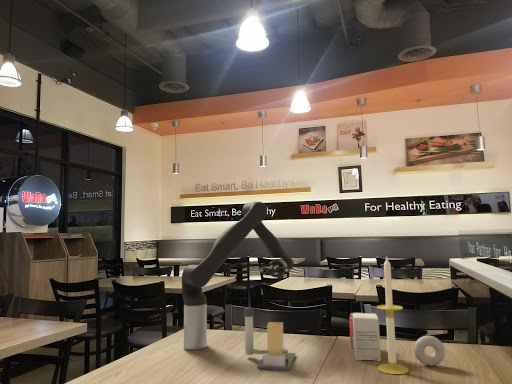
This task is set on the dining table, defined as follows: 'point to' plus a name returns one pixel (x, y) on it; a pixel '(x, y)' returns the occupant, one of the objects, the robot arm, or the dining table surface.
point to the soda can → (351, 330)
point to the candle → (390, 326)
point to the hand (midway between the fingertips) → (270, 271)
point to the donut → (432, 359)
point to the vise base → (287, 368)
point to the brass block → (275, 337)
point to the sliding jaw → (249, 334)
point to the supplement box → (366, 336)
